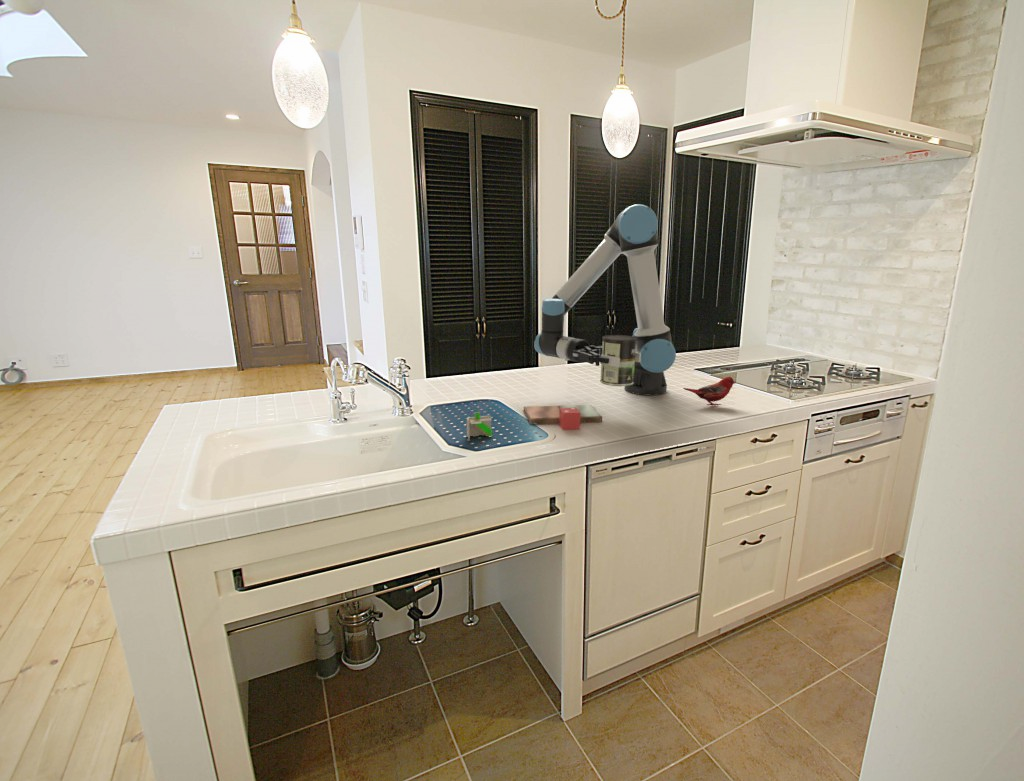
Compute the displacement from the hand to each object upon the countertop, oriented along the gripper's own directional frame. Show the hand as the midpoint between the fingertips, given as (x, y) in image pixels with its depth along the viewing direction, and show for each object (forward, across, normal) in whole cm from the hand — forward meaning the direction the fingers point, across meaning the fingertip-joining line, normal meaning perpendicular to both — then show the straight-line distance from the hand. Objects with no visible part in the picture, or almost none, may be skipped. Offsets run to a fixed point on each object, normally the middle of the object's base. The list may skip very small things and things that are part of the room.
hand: (629, 360), depth 158 cm
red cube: (-6, +20, -18) cm, 27 cm away
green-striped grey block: (-16, +45, -19) cm, 51 cm away
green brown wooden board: (-14, +14, -18) cm, 27 cm away
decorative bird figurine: (+10, -31, -18) cm, 38 cm away
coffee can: (-4, 0, -8) cm, 9 cm away
